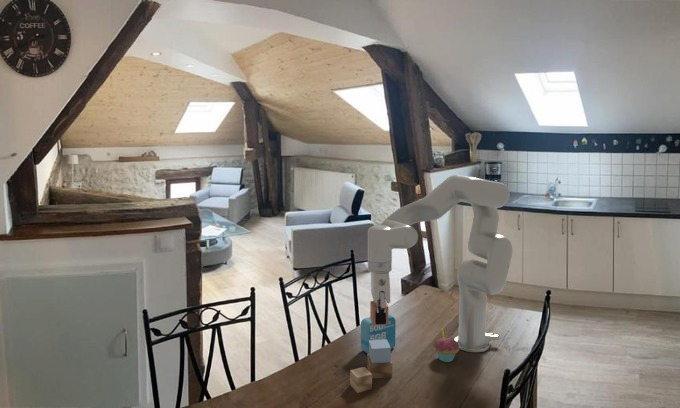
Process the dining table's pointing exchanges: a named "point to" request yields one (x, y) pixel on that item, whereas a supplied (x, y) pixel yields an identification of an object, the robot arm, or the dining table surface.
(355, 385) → the block
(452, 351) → the cupcake
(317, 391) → the dining table surface
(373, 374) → the tower base
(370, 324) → the data package
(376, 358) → the tower top
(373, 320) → the salmon orange block
